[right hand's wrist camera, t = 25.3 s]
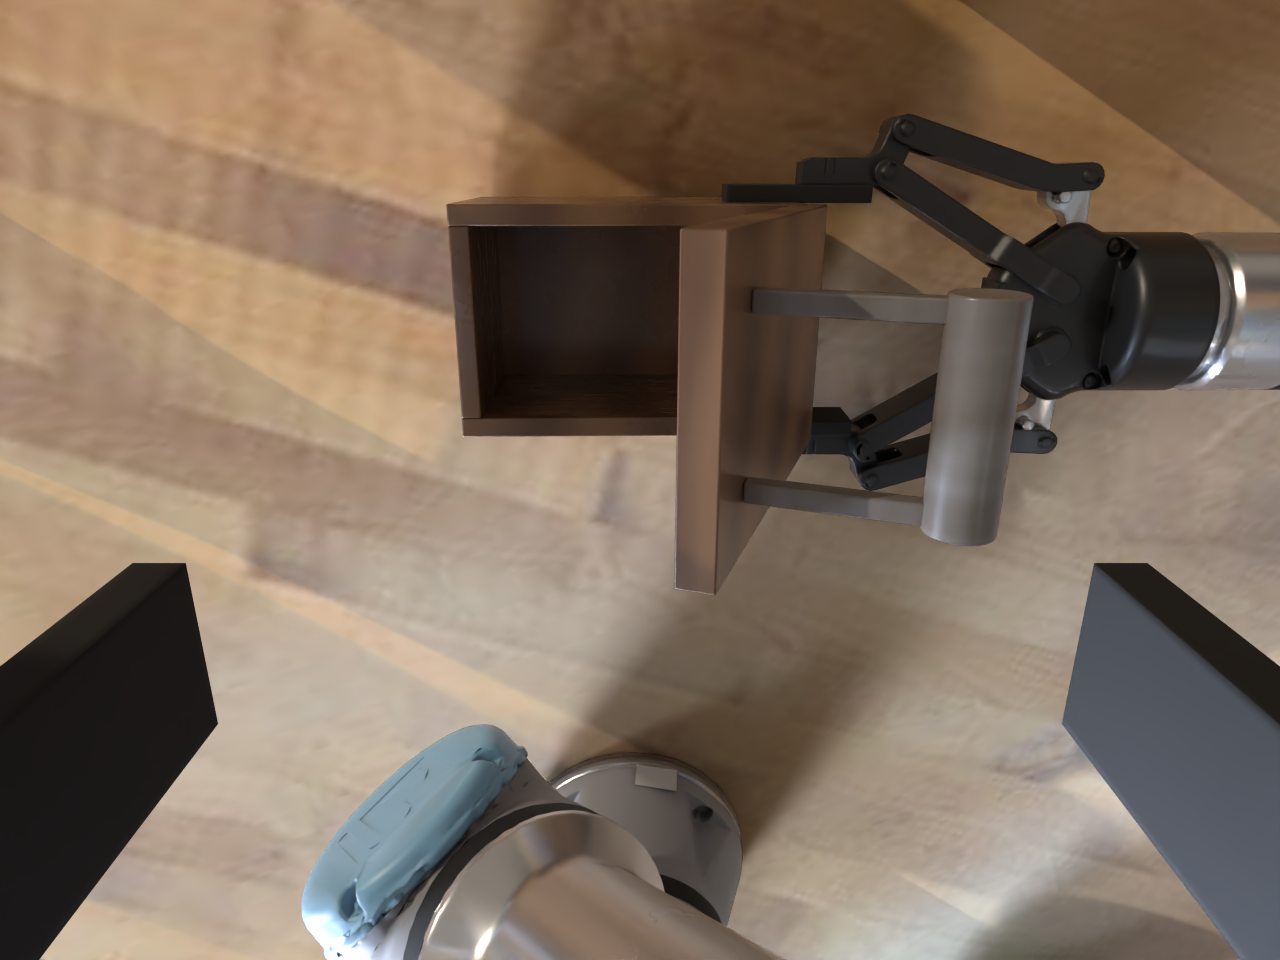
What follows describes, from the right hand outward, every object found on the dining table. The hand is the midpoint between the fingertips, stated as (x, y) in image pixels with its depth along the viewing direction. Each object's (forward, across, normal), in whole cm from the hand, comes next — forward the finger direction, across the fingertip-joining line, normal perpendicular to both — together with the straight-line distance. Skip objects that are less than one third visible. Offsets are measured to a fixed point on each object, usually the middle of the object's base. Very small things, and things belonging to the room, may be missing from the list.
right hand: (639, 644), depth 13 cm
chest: (+37, +1, 0) cm, 37 cm away
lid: (+19, -4, 0) cm, 20 cm away
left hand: (+31, -4, 0) cm, 31 cm away
